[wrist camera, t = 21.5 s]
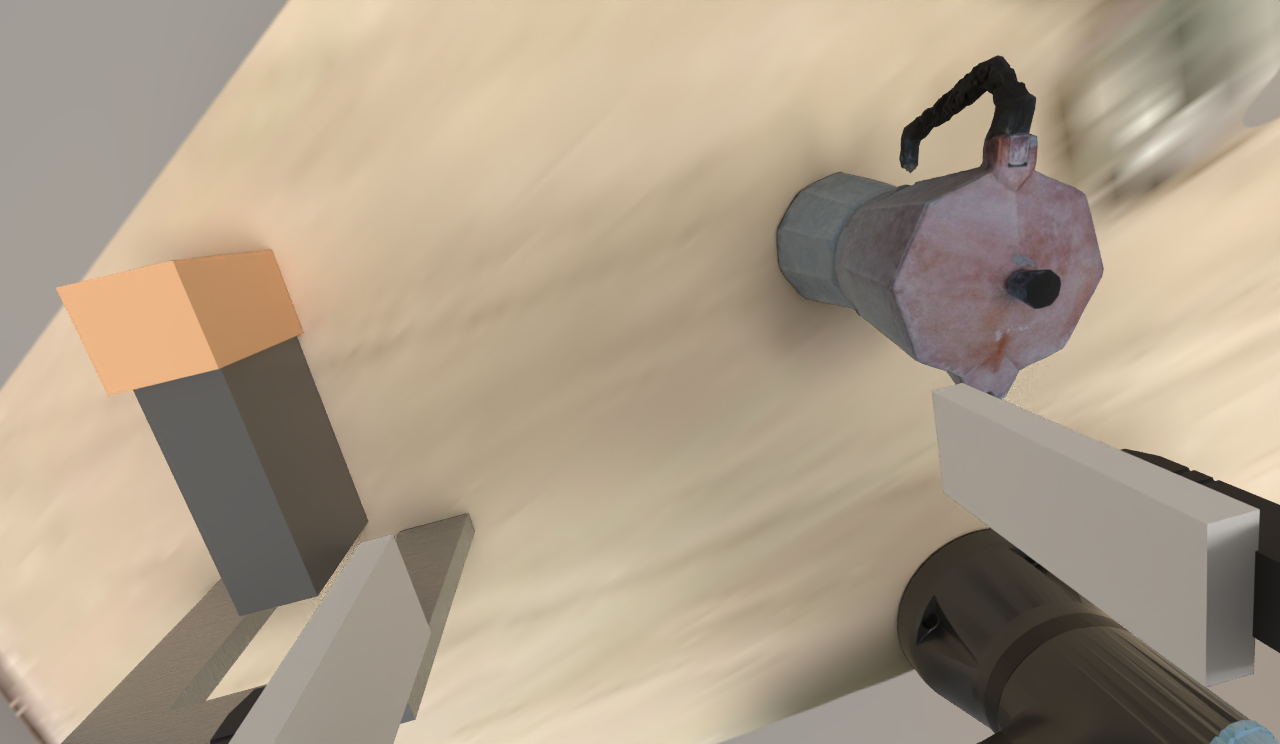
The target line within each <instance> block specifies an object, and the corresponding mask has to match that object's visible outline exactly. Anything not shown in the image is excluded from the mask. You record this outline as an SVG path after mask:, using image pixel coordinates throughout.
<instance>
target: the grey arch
mask: <svg viewBox="0 0 1280 744" xmlns="http://www.w3.org/2000/svg"><path fill="white" fill-rule="evenodd" d="M474 532H475V531H474V528H473V525H472V522H471V519H470V517H469V514H464V515H460V516H456V517H453V518H449V519H445V520H441V521H438V522H434V523H430V524H426V525H423V526H419V527H415V528H411V529H407V530H404V531H401V532H400V533H399V535H398V537H397V539H396V543H397V546H398V548H399V551H400V554H401V556H402V559H403V561H404V564H405V566H406V569H407V572H408V574H409V577H410V579H411V582H412V585H413V587H414V590H415V592H416V595H417V597H418V600H419V603H420V605H421V608H422V610H423V613H424V616H425V618H426V621H427V623H428V626H429V628H430V631H431V635H430V638H429V641H428V644H427V647H426V649H425V652H424V655H423V658H422V661H421V664H420V667H419V670H418V673H417V676H416V679H415V682H414V685H413V687H412V690H411V693H410V696H409V699H408V702H407V705H406V708H405V711H404V714H403V717H402V720H401V722H400V724H401V723H405V722H409V721H412V720H415V719H416V716H417V713H418V709H419V706H420V703H421V700H422V697H423V694H424V690H425V687H426V684H427V681H428V678H429V674H430V671H431V668H432V665H433V662H434V659H435V655H436V652H437V649H438V646H439V643H440V640H441V636H442V633H443V630H444V627H445V624H446V621H447V617H448V614H449V611H450V608H451V605H452V601H453V598H454V595H455V592H456V589H457V586H458V582H459V579H460V576H461V573H462V570H463V567H464V563H465V560H466V557H467V554H468V551H469V548H470V544H471V541H472V538H473V535H474ZM276 608H277V607H274V608H270V609H266V610H262V611H258V612H255V613H251V614H247V615H243V616H239V614H238V612H237V610H236V608H235V606H234V604H233V601H232V599H231V597H230V595H229V593H228V591H227V589H226V587H225V584H224V582H223V580H222V579H221V580H220V581H219V582H218V583H217V584H216V585H215V586H214V587H213V588H212V589H211V590H210V591H209V592H208V593H207V594H206V595H205V596H204V597H203V598H202V599H201V600H200V602H199V603H198V604H197V605H196V606H195V607H194V608H193V609H192V610H191V611H190V612H189V613H188V614H187V615H186V616H185V617H184V618H183V619H182V620H181V621H180V622H179V623H178V624H177V625H176V626H175V627H174V628H173V629H172V630H171V631H170V632H169V633H168V634H167V635H166V636H165V637H164V638H163V640H162V641H161V642H160V643H159V644H158V645H157V646H156V647H155V648H154V649H153V650H152V651H151V652H150V653H149V654H148V655H147V656H146V657H145V658H144V659H143V660H142V661H141V662H140V663H139V664H138V665H137V666H136V667H135V668H134V669H133V670H132V671H131V672H130V673H129V674H128V675H127V676H126V677H125V679H124V680H123V681H122V682H121V683H120V684H119V685H118V686H117V687H116V688H115V689H114V690H113V691H112V692H111V693H110V694H109V695H108V696H107V697H106V698H105V699H104V700H103V701H102V702H101V703H100V704H99V705H98V706H97V707H96V708H95V709H94V710H93V711H92V712H91V713H90V714H89V715H88V717H87V718H86V719H85V720H84V721H83V722H82V723H81V724H80V725H79V726H78V727H77V728H76V729H75V730H74V731H73V732H72V733H71V734H70V735H69V736H68V737H67V738H66V739H65V740H64V741H63V742H62V743H61V744H210V740H211V738H212V737H213V735H214V734H215V732H216V731H217V730H218V728H219V727H220V725H221V724H222V722H223V721H224V719H225V718H226V717H227V715H228V714H229V713H230V712H231V711H232V710H233V709H234V708H235V707H236V706H237V705H239V704H240V703H241V702H242V701H243V700H244V699H245V698H246V697H247V696H248V695H249V694H250V693H251V692H252V691H253V690H254V689H257V688H260V687H264V686H267V684H266V685H263V686H259V687H256V688H252V689H248V690H245V691H241V692H237V693H234V694H230V695H226V696H223V697H219V698H215V699H212V700H208V701H206V699H207V698H208V697H209V696H210V694H211V693H212V692H213V690H214V689H215V688H216V686H217V685H218V684H219V682H220V681H221V680H222V678H223V677H224V676H225V675H226V673H227V672H228V671H229V669H230V668H231V667H232V665H233V664H234V663H235V661H236V660H237V659H238V657H239V656H240V655H241V653H242V652H243V651H244V650H245V648H246V647H247V646H248V644H249V643H250V642H251V640H252V639H253V638H254V636H255V635H256V634H257V632H258V631H259V630H260V629H261V627H262V626H263V625H264V623H265V622H266V621H267V619H268V618H269V617H270V615H271V614H272V613H273V611H274V610H275V609H276Z"/></svg>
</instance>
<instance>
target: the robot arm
mask: <svg viewBox="0 0 1280 744" xmlns="http://www.w3.org/2000/svg"><path fill="white" fill-rule="evenodd" d="M932 397H933V405H934V414H935V423H936V431H937V440H938V449H939V457H940V466H941V474H942V483H943V492H944V493H945V494H946V495H947V496H949V497H950V498H951V499H953V500H954V501H955V502H957V503H958V504H959V505H961V506H962V507H963V508H965V509H966V510H967V511H969V512H970V513H971V514H973V515H974V516H975V517H977V518H978V519H979V520H981V521H982V522H984V523H985V524H986V525H988V526H989V527H990V528H992V529H990V530H984V531H979V532H976V533H972V534H969V535H966V536H964V537H962V538H959V539H957V540H955V541H953V542H952V543H950V544H948V545H947V546H945V547H944V548H942V549H941V550H939V551H938V552H937V553H935V554H934V555H933V556H932V557H931V558H930V559H929V560H928V561H927V562H926V563H925V564H924V565H923V566H922V567H921V568H920V569H919V571H918V572H917V573H916V575H915V576H914V577H913V579H912V581H911V582H910V584H909V586H908V588H907V590H906V592H905V594H904V596H903V599H902V602H901V606H900V610H899V615H898V635H899V640H900V644H901V647H902V650H903V652H904V654H905V656H906V657H907V659H908V660H909V662H910V663H911V665H912V666H913V667H914V669H915V670H916V671H917V672H918V674H919V675H920V676H921V678H922V679H923V680H924V681H925V682H926V683H927V684H928V685H929V686H930V687H931V688H932V689H933V690H934V691H935V692H937V693H938V694H939V695H941V696H942V697H944V698H945V699H947V700H949V701H950V702H951V703H953V704H954V705H956V706H957V707H959V708H961V709H962V710H963V711H965V712H966V713H968V714H970V715H971V716H972V717H974V718H976V719H977V720H978V721H980V722H982V723H983V724H984V725H986V726H987V727H989V728H990V729H992V731H993V732H994V733H995V734H994V735H992V736H990V737H989V738H987V739H985V740H983V741H982V742H979V743H977V744H1279V742H1278V740H1277V739H1275V737H1274V736H1273V735H1272V733H1270V731H1269V730H1267V729H1266V728H1265V727H1263V726H1261V725H1260V724H1258V723H1257V722H1255V721H1252V720H1250V719H1248V718H1247V717H1246V716H1244V715H1243V714H1241V713H1240V712H1239V711H1237V710H1236V709H1234V708H1233V707H1232V706H1231V705H1229V704H1228V703H1226V702H1225V701H1223V700H1222V699H1221V698H1220V697H1218V696H1217V695H1216V694H1214V693H1213V692H1211V691H1210V690H1209V689H1207V688H1206V687H1210V686H1213V685H1217V684H1220V683H1223V682H1227V681H1230V680H1234V679H1237V678H1241V677H1244V676H1247V675H1251V674H1254V655H1255V638H1256V639H1258V640H1260V641H1261V642H1263V643H1264V644H1266V645H1268V646H1269V647H1271V648H1273V649H1274V650H1276V651H1277V652H1279V653H1280V505H1279V504H1276V503H1274V502H1271V501H1269V500H1266V499H1264V498H1261V497H1259V496H1257V495H1254V494H1252V493H1249V492H1247V491H1244V490H1242V489H1239V488H1237V487H1234V486H1232V485H1230V484H1227V483H1225V482H1222V481H1220V480H1218V481H1214V480H1213V478H1212V477H1210V476H1207V475H1205V474H1203V473H1200V472H1198V471H1195V470H1193V471H1190V470H1189V468H1188V467H1185V466H1183V465H1180V464H1178V463H1175V462H1173V461H1171V460H1168V459H1166V458H1163V457H1161V456H1157V455H1152V454H1147V453H1143V452H1138V451H1133V450H1128V449H1122V450H1119V449H1116V448H1114V447H1112V446H1109V445H1107V444H1105V443H1102V442H1100V441H1097V440H1095V439H1093V438H1090V437H1088V436H1086V435H1083V434H1081V433H1079V432H1076V431H1074V430H1072V429H1069V428H1067V427H1065V426H1062V425H1060V424H1058V423H1055V422H1053V421H1050V420H1048V419H1046V418H1043V417H1041V416H1039V415H1036V414H1034V413H1032V412H1029V411H1027V410H1025V409H1022V408H1020V407H1018V406H1015V405H1013V404H1010V403H1008V402H1006V401H1003V400H1001V399H999V398H996V397H994V396H992V395H989V394H987V393H985V392H982V391H980V390H978V389H975V388H973V387H971V386H968V385H966V384H963V383H960V384H956V385H952V386H948V387H945V388H941V389H937V390H933V391H932ZM1115 620H1116V621H1117V622H1118V623H1119V624H1118V623H1117V622H1116V621H1115ZM1120 624H1121V625H1122V626H1121V625H1120ZM1124 627H1125V628H1126V629H1125V628H1124ZM1128 630H1129V631H1130V632H1129V631H1128ZM1132 633H1133V634H1134V635H1133V634H1132ZM430 635H431V631H430V628H429V626H428V623H427V621H426V618H425V616H424V613H423V610H422V608H421V605H420V603H419V600H418V597H417V595H416V592H415V590H414V587H413V585H412V582H411V579H410V577H409V574H408V572H407V569H406V566H405V564H404V561H403V559H402V556H401V554H400V551H399V548H398V546H397V543H396V541H395V538H394V535H393V534H391V535H388V536H384V537H380V538H376V539H373V540H369V541H365V542H361V543H360V544H359V545H358V547H357V548H356V550H355V552H354V553H353V555H352V556H351V558H350V559H349V561H348V562H347V564H346V565H345V567H344V568H343V570H342V571H341V573H340V574H339V576H338V577H337V579H336V581H335V582H334V584H333V585H332V587H331V588H330V590H329V591H328V593H327V594H326V596H325V597H324V599H323V600H322V602H321V603H320V605H319V606H318V608H317V609H316V611H315V613H314V614H313V616H312V617H311V619H310V620H309V622H308V623H307V625H306V626H305V628H304V629H303V631H302V632H301V634H300V635H299V637H298V638H297V640H296V642H295V643H294V645H293V646H292V648H291V649H290V651H289V652H288V654H287V655H286V657H285V658H284V660H283V661H282V663H281V664H280V666H279V667H278V669H277V670H276V672H275V674H274V675H273V677H272V678H271V680H270V681H269V683H268V684H267V686H264V687H260V688H257V689H254V690H253V691H252V692H251V693H250V694H249V695H248V696H247V697H246V698H245V699H244V700H243V701H242V702H241V703H240V704H239V705H237V706H236V707H235V708H234V709H233V710H232V711H231V712H230V713H229V714H228V715H227V717H226V718H225V719H224V721H223V722H222V724H221V725H220V727H219V728H218V730H217V731H216V732H215V734H214V735H213V737H212V738H211V740H210V744H393V743H394V740H395V737H396V734H397V731H398V728H399V725H400V722H401V720H402V717H403V714H404V711H405V708H406V705H407V702H408V699H409V696H410V693H411V690H412V687H413V685H414V682H415V679H416V676H417V673H418V670H419V667H420V664H421V661H422V658H423V655H424V652H425V649H426V647H427V644H428V641H429V638H430ZM1135 635H1136V636H1137V637H1136V636H1135ZM1139 638H1140V639H1141V640H1140V639H1139ZM1143 641H1144V642H1145V643H1144V642H1143ZM1147 644H1148V645H1147ZM1151 647H1152V648H1151ZM1155 650H1156V651H1155Z"/></svg>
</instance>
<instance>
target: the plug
mask: <svg viewBox="0 0 1280 744" xmlns="http://www.w3.org/2000/svg"><path fill="white" fill-rule="evenodd" d="M56 289H57V291H58V293H59V295H60V297H61V299H62V302H63V304H64V306H65V308H66V310H67V312H68V314H69V316H70V318H71V320H72V322H73V324H74V326H75V328H76V331H77V333H78V335H79V337H80V339H81V341H82V343H83V345H84V347H85V349H86V351H87V353H88V355H89V357H90V360H91V362H92V364H93V366H94V368H95V370H96V372H97V374H98V376H99V378H100V380H101V382H102V384H103V386H104V389H105V391H106V393H107V395H108V396H109V395H113V394H118V393H122V392H126V391H130V390H133V391H134V393H135V395H136V397H137V399H138V402H139V404H140V406H141V408H142V410H143V412H144V414H145V416H146V419H147V421H148V423H149V425H150V427H151V429H152V431H153V433H154V436H155V438H156V440H157V442H158V444H159V446H160V448H161V450H162V453H163V455H164V457H165V459H166V461H167V463H168V465H169V467H170V470H171V472H172V474H173V476H174V478H175V480H176V482H177V484H178V487H179V489H180V491H181V493H182V495H183V497H184V499H185V501H186V504H187V506H188V508H189V510H190V512H191V514H192V516H193V518H194V521H195V523H196V525H197V527H198V529H199V531H200V533H201V535H202V538H203V540H204V542H205V544H206V546H207V548H208V550H209V553H210V555H211V557H212V559H213V561H214V563H215V565H216V567H217V570H218V572H219V574H220V576H221V578H222V580H223V582H224V584H225V587H226V589H227V591H228V593H229V595H230V597H231V599H232V601H233V604H234V606H235V608H236V610H237V612H238V614H239V616H243V615H247V614H251V613H255V612H258V611H262V610H266V609H270V608H274V607H278V606H281V605H285V604H289V603H293V602H297V601H301V600H304V599H308V598H312V597H316V596H318V595H319V593H320V592H321V590H322V589H323V587H324V586H325V584H326V583H327V582H328V580H329V579H330V577H331V576H332V574H333V573H334V571H335V570H336V568H337V567H338V565H339V564H340V562H341V561H342V559H343V558H344V556H345V555H346V553H347V552H348V550H349V549H350V547H351V546H352V545H353V543H354V542H355V540H356V539H357V537H358V536H359V534H360V533H361V531H362V530H363V528H364V527H365V525H366V524H367V522H368V520H367V517H366V514H365V512H364V509H363V507H362V504H361V502H360V499H359V496H358V494H357V491H356V489H355V486H354V483H353V481H352V478H351V476H350V473H349V470H348V468H347V465H346V463H345V460H344V458H343V455H342V452H341V450H340V447H339V445H338V442H337V439H336V437H335V434H334V432H333V429H332V426H331V424H330V421H329V419H328V416H327V413H326V411H325V408H324V406H323V403H322V401H321V398H320V395H319V393H318V390H317V388H316V385H315V382H314V380H313V377H312V375H311V372H310V369H309V367H308V364H307V362H306V359H305V357H304V354H303V351H302V349H301V346H300V344H299V341H298V338H297V335H299V334H302V333H303V330H302V327H301V325H300V322H299V320H298V317H297V314H296V312H295V309H294V306H293V304H292V301H291V299H290V296H289V293H288V291H287V288H286V286H285V283H284V280H283V278H282V275H281V272H280V270H279V267H278V265H277V262H276V259H275V257H274V254H273V252H272V250H265V251H256V252H247V253H237V254H228V255H219V256H209V257H200V258H191V259H181V260H172V261H168V262H164V263H159V264H155V265H151V266H147V267H142V268H138V269H134V270H129V271H125V272H121V273H117V274H112V275H108V276H104V277H100V278H95V279H91V280H87V281H82V282H78V283H74V284H70V285H66V286H61V287H57V288H56Z"/></svg>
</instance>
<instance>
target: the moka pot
mask: <svg viewBox="0 0 1280 744" xmlns="http://www.w3.org/2000/svg"><path fill="white" fill-rule="evenodd" d="M986 91H988V92H989V93H991V94H993V101H994V104H995V106H996V108H995V113H994V117H993V121H992V124H991V127H990V129H989V131H988V133H987V136H986V138H985V142H984V147H983V162H982V164H981V166H980V167H978V168H974V169H970V170H967V171H961V172H958V173H954V174H949V175H946V176H942V177H936V178H932V179H928V180H923V181H919V182H916V183H915V184H914V185H912V186H910V185H903V186H899V187H895V186H893V185H890V184H887V183H884V182H880V181H876V180H872V179H869V178H864V177H859V176H855V175H850V174H845V173H842V172H838V173H835V174H833V175H830V176H828V177H825V178H824V179H821V180H819V181H817V182H815V183H813V184H811V185H810V186H808V187H807V188H805V189H804V190H802V191H801V192H800V193H799V194H798V195H797V197H796V198H795V199H794V201H793V202H792V204H791V206H790V207H789V209H788V211H787V212H786V214H785V216H784V218H783V220H782V222H781V224H780V225H779V228H778V237H777V246H778V256H779V260H778V261H779V265H780V268H781V271H782V272H783V274H784V275H785V277H786V279H787V280H788V281H789V282H790V283H791V284H792V286H793V287H794V288H795V289H796V291H797V292H798V293H799V294H801V295H802V296H803V297H804V298H805V299H809V300H813V301H818V302H823V303H828V304H834V305H839V306H844V307H849V308H853V309H854V310H856V312H857V314H858V315H859V316H862V317H863V318H864V319H865V320H866V321H868V322H869V323H870V324H872V325H873V326H874V327H875V328H876V329H878V330H879V331H880V332H881V333H882V334H884V335H885V336H886V337H887V338H889V339H890V340H891V341H892V342H894V343H895V344H896V345H898V346H899V347H900V348H901V349H902V350H904V351H905V352H906V353H907V354H908V355H910V356H911V357H912V358H913V359H914V360H916V361H918V362H920V363H922V364H925V365H928V366H931V367H935V368H938V369H941V370H945V371H947V373H948V374H949V376H950V377H951V378H952V380H953V381H954V382H955V384H960V383H963V384H966V385H968V386H971V387H973V388H975V389H978V390H980V391H982V392H985V393H987V394H989V395H992V396H994V397H996V398H999V399H1001V400H1002V398H1004V397H1005V396H1006V394H1007V393H1008V391H1009V389H1010V387H1011V385H1012V384H1013V382H1014V380H1015V378H1016V376H1017V374H1018V372H1019V370H1021V369H1023V368H1025V367H1026V366H1028V365H1030V364H1033V363H1035V362H1037V361H1039V360H1042V359H1044V358H1046V357H1048V356H1050V355H1052V354H1053V353H1055V352H1057V351H1059V350H1061V349H1062V348H1063V347H1064V346H1065V344H1066V343H1067V341H1068V340H1069V338H1070V336H1071V334H1072V332H1073V331H1074V329H1075V327H1076V325H1077V323H1078V321H1079V319H1080V317H1081V315H1082V313H1083V311H1084V309H1085V307H1086V305H1087V304H1088V302H1089V300H1090V298H1091V296H1092V295H1093V293H1094V291H1095V289H1096V287H1097V285H1098V283H1099V281H1100V279H1101V278H1102V274H1103V270H1104V268H1103V264H1102V259H1101V255H1100V251H1099V246H1098V242H1097V238H1096V234H1095V229H1094V225H1093V221H1092V217H1091V213H1090V209H1089V205H1088V201H1087V198H1086V195H1085V194H1084V193H1083V192H1081V191H1080V190H1078V189H1077V188H1075V187H1072V186H1070V185H1067V184H1064V183H1062V182H1059V181H1057V180H1055V179H1052V178H1049V177H1047V176H1045V175H1043V174H1041V173H1039V172H1037V171H1035V166H1036V159H1037V145H1038V142H1037V136H1035V135H1032V134H1029V132H1030V127H1031V123H1032V119H1033V115H1034V111H1035V104H1036V97H1035V96H1033V95H1032V94H1030V93H1029V92H1028V91H1027V89H1026V87H1025V84H1024V83H1022V82H1018V81H1017V77H1016V74H1015V71H1014V69H1012V68H1010V65H1009V64H1008V62H1007V61H1006V60H1005V59H1004V57H1002V56H995V57H993V58H991V59H989V60H987V61H985V62H982V63H979V64H978V65H977V66H975V67H973V69H972V71H971V72H970V73H968V74H966V75H965V76H964V78H962V79H960V80H959V81H958V83H957V84H956V85H955V86H954V88H952V89H951V90H950V91H949V92H948V93H946V94H944V95H943V96H942V98H940V99H938V101H937V102H936V103H935V104H934V106H933V107H931V108H928V109H926V110H925V111H924V112H923V113H922V115H921V116H919V117H917V118H916V119H915V120H914V121H913V122H911V123H910V124H909V125H907V126H906V127H905V128H904V130H903V133H902V136H901V152H900V158H899V159H900V162H901V167H902V168H905V169H906V171H909V172H910V173H911V172H912V171H913V170H915V169H916V167H917V166H918V155H919V145H920V141H921V140H922V139H924V138H925V137H926V136H927V135H928V134H929V133H930V131H931V130H932V129H933V128H934V127H938V126H940V125H941V124H943V123H945V122H946V121H949V120H950V119H951V117H952V116H953V115H955V114H957V113H959V112H960V111H961V110H963V109H964V108H965V107H966V106H969V105H971V104H973V103H974V102H975V101H976V100H977V99H978V98H979V97H980V96H981V95H982V94H984V93H985V92H986Z"/></svg>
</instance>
